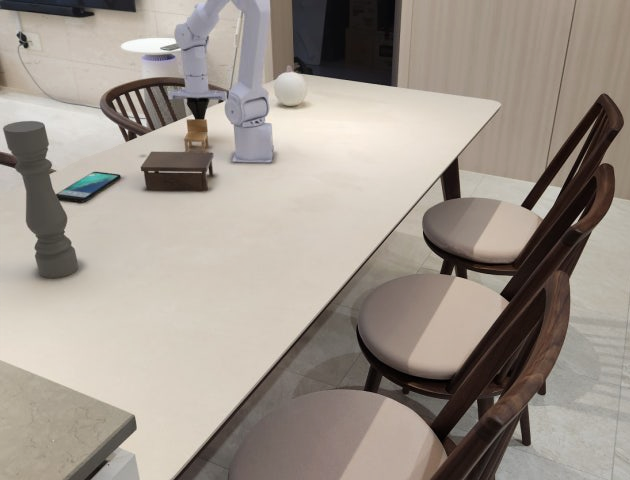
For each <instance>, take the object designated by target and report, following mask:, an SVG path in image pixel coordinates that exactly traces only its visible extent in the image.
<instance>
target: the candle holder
mask: <svg viewBox="0 0 630 480" xmlns="http://www.w3.org/2000/svg"><path fill="white" fill-rule="evenodd" d="M2 130H3V134H4V138H5V141H6V145H7V149H8V150H9V151H10V153H11V155H12V156H13V157H14V158H15V159H16V160H17V163H16V164H15V165H14V169H15V171H16V172H17V173H19V174H20V175H21V177H22V180H23V185H24V188H25V189H24V190H25V224H26V226H27V228H28V229H29V231H31V233H33V234H34V235H35V237H36V239H37V240H36V242H35V245H34V247H33V248H34V251H35V254H34V259H35V261H36V266H37V269H38V273H39V275H40V276H41V277H43V278H46V279H60V278H61V279H62V278H65V277H68V276H71V275H73V274H74V273H75V272H77V270H78V269H79V261H78V257H77V253H76V249H75V248H74V247H73V245H72V240H71V239H70V238H69V237H67V235H66V234H65V233H66V227H67V224H68V215H67V213H66V211H65V209H64V206H63V205H62V203H61V201H60V199H58V197H57V196H56V194H57V193H56V191H55V190H54V188H53V184H52V179H51V174H50V170H51V169H52V166H53V163H52V161H51V160H50V159H47V158H46V157H47V153H48V151H49V145H50V143H49V138H48V134H47V129H46V125H45V123H44V122H42V121H38V120H22V121H21V120H20V121H15V122H12V123H8V124H6V125H4V126H3V128H2Z"/></svg>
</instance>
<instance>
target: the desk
mask: <svg viewBox="0 0 630 480" xmlns="http://www.w3.org/2000/svg"><path fill="white" fill-rule="evenodd" d="M213 158H214V152H213V151H212V152H211V151H209V152H208V151H206V152H202V151H189V152H186V151H150V152H149V154H148V155H147V157H146V159H145V160H144V162H142V164H141V166H140V171H141V172H143V176H144V182H145V190H146V191H155V192H156V191H163V192H166V191H167V192H170V191H171V192H174V191H175V192H204V191H208V178H207V172H208V173H209V174H208V176H209V177H214V167H213Z"/></svg>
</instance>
